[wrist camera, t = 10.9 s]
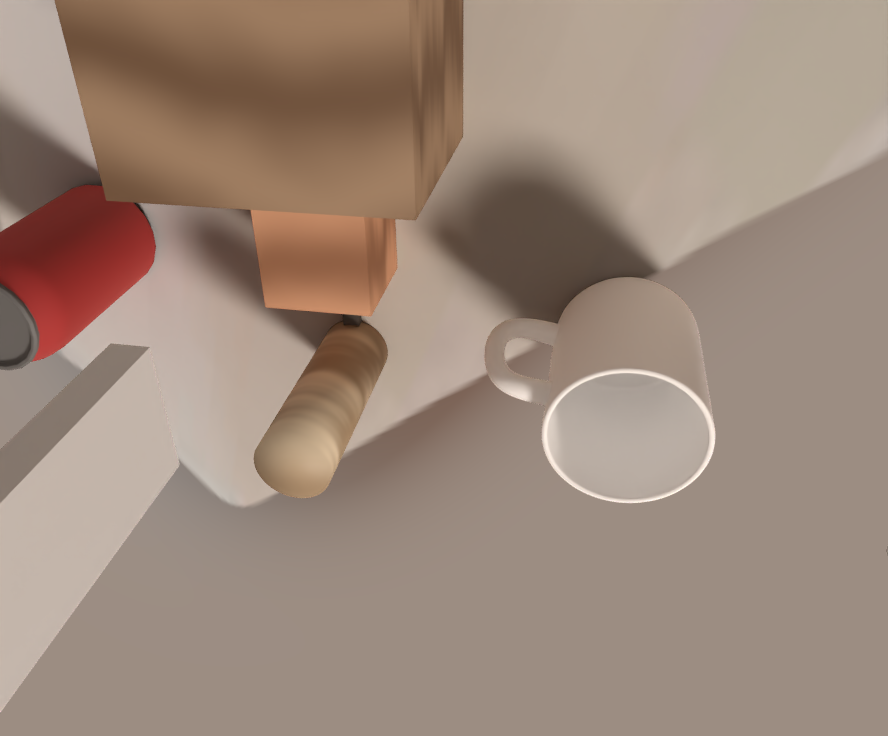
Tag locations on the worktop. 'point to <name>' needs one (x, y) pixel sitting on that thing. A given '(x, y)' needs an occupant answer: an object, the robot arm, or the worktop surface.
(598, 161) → the worktop surface
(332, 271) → the tethered cylinder
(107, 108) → the cubby shelf
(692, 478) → the cup
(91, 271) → the beer can
